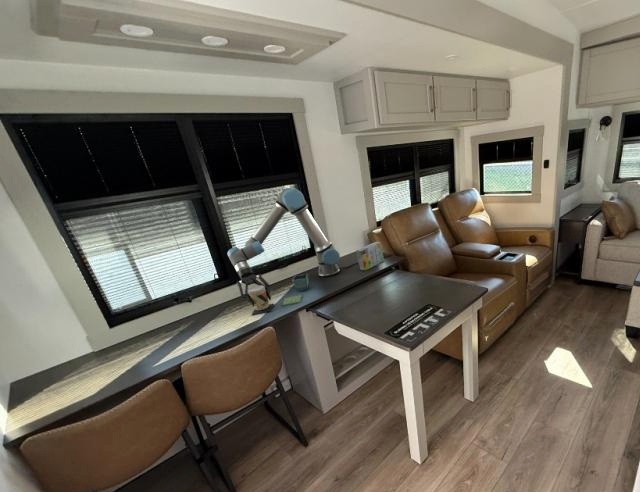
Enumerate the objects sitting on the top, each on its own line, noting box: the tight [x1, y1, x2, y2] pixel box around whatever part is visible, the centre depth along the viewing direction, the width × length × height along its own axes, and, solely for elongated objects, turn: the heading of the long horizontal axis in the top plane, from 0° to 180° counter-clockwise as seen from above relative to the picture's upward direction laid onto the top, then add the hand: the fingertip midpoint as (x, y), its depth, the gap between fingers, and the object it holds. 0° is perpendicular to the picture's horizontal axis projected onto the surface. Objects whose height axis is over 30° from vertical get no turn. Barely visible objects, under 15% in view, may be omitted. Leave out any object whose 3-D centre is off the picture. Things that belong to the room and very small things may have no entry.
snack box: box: [355, 241, 385, 272], centre depth 228 cm, size 21×6×15 cm, turn 141°
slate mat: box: [251, 303, 275, 316], centre depth 183 cm, size 10×10×1 cm
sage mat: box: [281, 294, 303, 307], centre depth 189 cm, size 10×10×1 cm
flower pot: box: [291, 273, 310, 292], centre depth 203 cm, size 9×9×9 cm
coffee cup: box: [248, 285, 270, 310], centre depth 180 cm, size 9×9×12 cm
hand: (262, 301), depth 178 cm, fingers closed on coffee cup, 9 cm apart
